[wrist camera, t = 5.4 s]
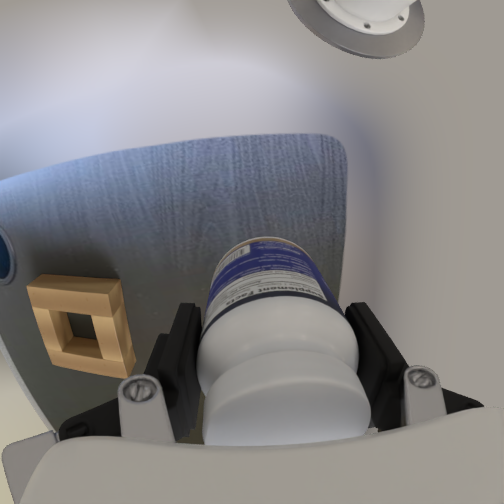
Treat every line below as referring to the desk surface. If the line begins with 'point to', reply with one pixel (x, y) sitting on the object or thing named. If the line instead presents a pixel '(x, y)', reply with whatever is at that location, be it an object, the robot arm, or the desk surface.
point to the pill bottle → (277, 352)
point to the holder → (103, 316)
